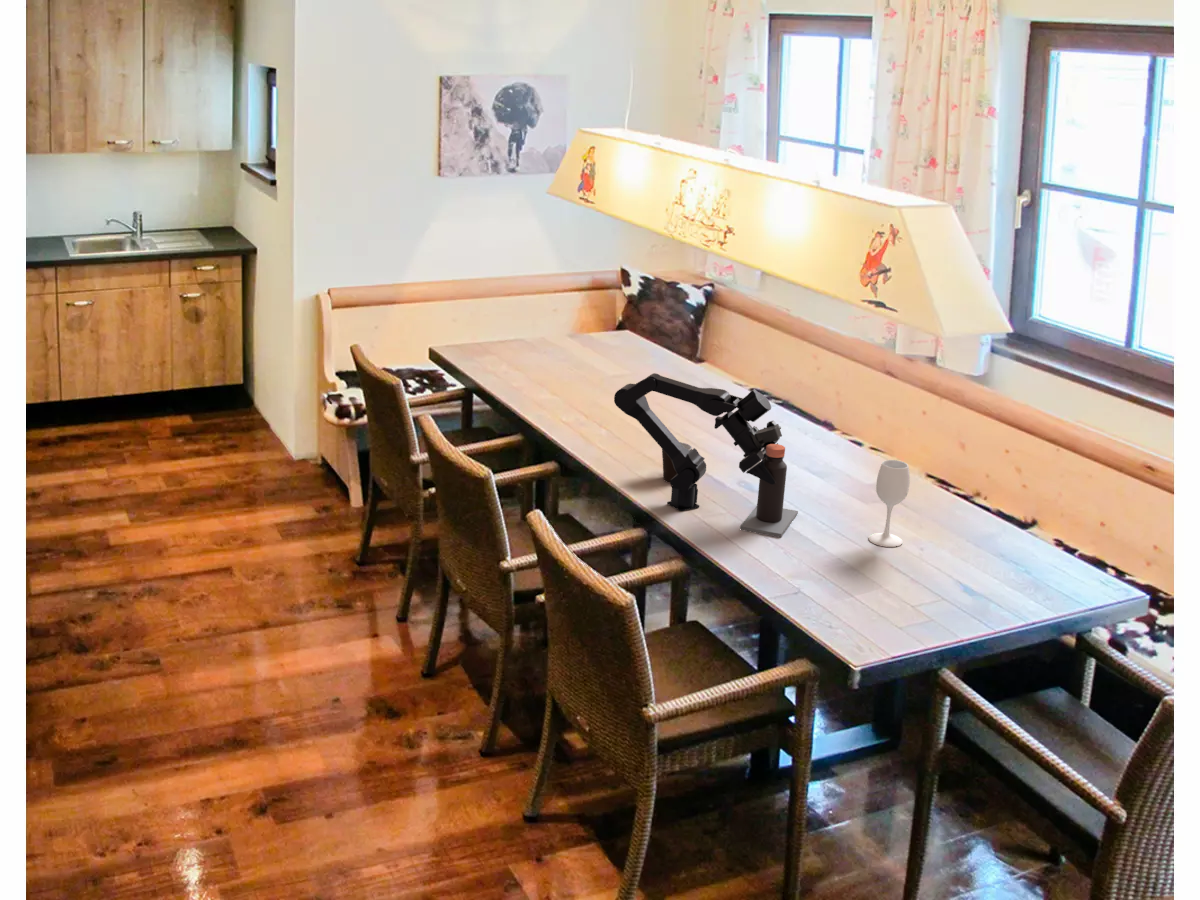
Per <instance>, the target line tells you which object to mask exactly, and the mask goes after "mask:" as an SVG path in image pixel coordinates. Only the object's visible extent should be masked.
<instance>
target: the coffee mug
mask: <svg viewBox="0 0 1200 900" xmlns="http://www.w3.org/2000/svg"><path fill="white" fill-rule="evenodd" d="M679 442H680V443H681V445H682V446H683V447H684V448H686V449H688V450H690V451H691V450H692V449H693V446H692V445H691V444H689V443H686V442H682V441H679ZM661 455H662V456H661V457H662V473H663V474H662V475H663V481H664V480H665V481H664V482H666V481H667V482H666V483H669V484H671V483H670V480H671V479H672V478H673V477H674V476H675V475H676V474H677V472H676V471H675V469H674V466H673V463H672V460H671V458H670V457H669V456H668V455H667V454H666V453H665V451H664V450H663V449H662V448H661Z"/></svg>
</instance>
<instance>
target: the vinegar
mask: <svg viewBox="0 0 1200 900" xmlns="http://www.w3.org/2000/svg"><path fill="white" fill-rule="evenodd" d="M785 452H786V446H784V445H782V444H779V443H778V444H777V443H775V444H769V445H767V446H766V466H767V468H768V470H769V471H770V473H771V475H772V476H773V478H774V480H775V482H776V483H775V484H774V485H772V484H770V483H768V482H766V481H764V480H762V479H760V478H759V482H758V483H759V484H758V492H757V503H756V506H757V513H756V517H757V518H758V519H759V520H760V521H763V522H769V523H774V522H779V521H780V520H781V519H782V512H783V508H784V501H785V500H784V499H785V490H786V479H787V470H788V466H787V464H786V462H785V461H784V458H785V454H786V453H785Z"/></svg>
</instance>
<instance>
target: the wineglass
mask: <svg viewBox="0 0 1200 900" xmlns="http://www.w3.org/2000/svg"><path fill="white" fill-rule="evenodd" d="M910 474H911V473H910V466H909V464H908V463H907V462H904V461H902V460H898V459H886V460H883V461H882V462H881V464H880V467H879V470H878V474H877V478H876V482H875V483H876V485H875V487H876V488H875V489H876V490H875V491H876V494H877V496H878V498H879V500H880V501H881V502H883V504H885V505H886V519H885V527H884V530H883V532H875V533H873V534H870V535H869V536H868V540H869V541H870V543H872V544H874V545H877V546H881V547H884V548H885V547H886V548H896V546H897V547H899V546H902V545H903V543H904V542H903V539H902V538H900V537H899V536H897V535H896V534H893V533H890V527H891V526H890V524H891V517H892V511H893V508H894V506H897V505H899V504H900V503H902V502H903V501H904V500H905V499H906V497H907V496H908V493H909V488H910V482H911V481H910V480H911V479H910V478H911V477H910ZM901 544H902V545H901Z"/></svg>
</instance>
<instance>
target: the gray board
mask: <svg viewBox="0 0 1200 900" xmlns="http://www.w3.org/2000/svg"><path fill="white" fill-rule="evenodd" d="M756 513H757V505H756V506H755V507H754V508H753V510H752V511H751V513H749V514H748V516H747V517H746V518H745V519H744V521H743V522H742V524H740V526H739V530H740V529H741V530H740V531H743V530H745V532H749V531H751V532H750V533H754V532H756V533H755V534H759V533H760V534H761V535H765V536H771V537H776V538H783V535H784V534H785V533H786V532H787V530H788V529H789V528H790V524H791V525H792V524H793V522H792V521H794V520H795V519H796V518H797V516H798V515H797V514H799V511H798V510H794V509H790V508H789V509H788V508H784V507H783V512H782V519H781V520H780V521H779V522H774V523H769V522H763V521H760V520H759V519H758V518H757V517H756Z"/></svg>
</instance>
